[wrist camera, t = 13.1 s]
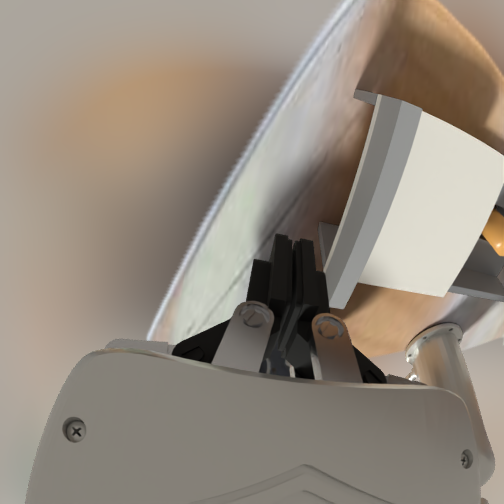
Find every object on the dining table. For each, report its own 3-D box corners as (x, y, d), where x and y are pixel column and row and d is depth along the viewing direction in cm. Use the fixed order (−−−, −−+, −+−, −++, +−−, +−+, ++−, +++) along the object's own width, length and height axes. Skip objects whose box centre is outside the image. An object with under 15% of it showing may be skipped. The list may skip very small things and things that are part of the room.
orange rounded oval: (484, 229, 29) (508, 258, 24) (467, 222, 29) (491, 252, 24) (495, 205, 27) (522, 232, 21) (478, 197, 27) (506, 224, 21)
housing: (485, 269, 33) (506, 302, 27) (317, 228, 33) (323, 268, 27) (530, 177, 23) (561, 201, 17) (355, 89, 23) (377, 93, 17)
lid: (440, 291, 27) (455, 323, 23) (323, 269, 27) (327, 306, 23) (505, 157, 17) (536, 178, 13) (378, 94, 17) (402, 100, 13)
